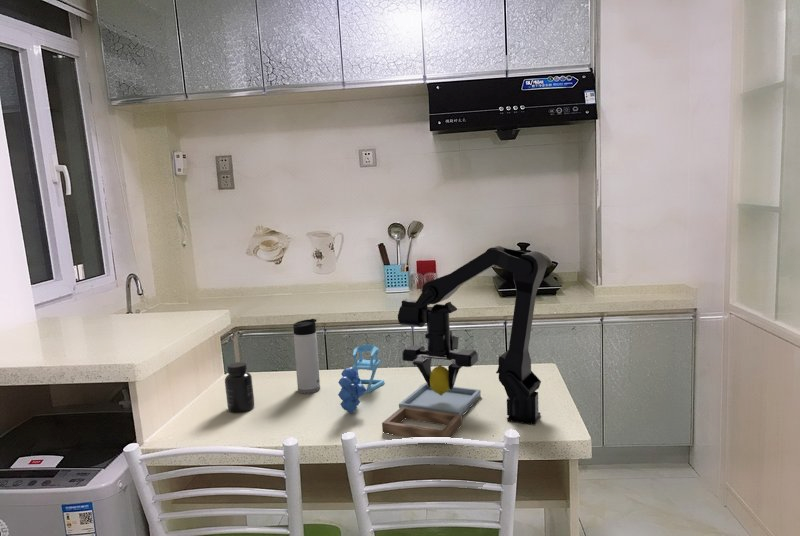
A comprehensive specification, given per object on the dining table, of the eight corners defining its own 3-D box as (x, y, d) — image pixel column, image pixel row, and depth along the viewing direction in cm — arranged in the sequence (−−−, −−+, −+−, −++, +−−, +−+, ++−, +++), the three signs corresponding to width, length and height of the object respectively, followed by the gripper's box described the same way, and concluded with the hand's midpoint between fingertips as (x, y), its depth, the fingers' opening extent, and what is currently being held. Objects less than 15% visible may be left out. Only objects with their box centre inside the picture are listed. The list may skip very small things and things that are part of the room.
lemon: (450, 399, 141) (449, 369, 139) (428, 399, 142) (427, 368, 141) (453, 391, 146) (451, 362, 145) (431, 391, 147) (430, 361, 146)
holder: (462, 425, 130) (461, 415, 130) (445, 444, 121) (444, 433, 121) (402, 416, 137) (402, 406, 137) (382, 433, 128) (382, 422, 128)
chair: (350, 392, 155) (347, 350, 154) (359, 381, 163) (356, 342, 162) (376, 393, 154) (374, 351, 152) (384, 382, 162) (382, 342, 160)
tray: (480, 396, 148) (480, 389, 147) (459, 419, 134) (459, 412, 133) (425, 389, 155) (424, 383, 155) (399, 410, 141) (399, 403, 140)
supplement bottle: (246, 401, 152) (242, 358, 150) (259, 407, 147) (255, 363, 145) (222, 409, 147) (218, 365, 145) (235, 415, 142) (231, 370, 141)
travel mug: (325, 389, 158) (320, 320, 155) (303, 395, 155) (298, 324, 152) (315, 383, 163) (310, 316, 161) (294, 389, 160) (289, 320, 157)
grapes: (361, 422, 134) (358, 374, 133) (334, 421, 136) (331, 373, 134) (373, 404, 146) (371, 359, 144) (348, 403, 147) (346, 359, 145)
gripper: (483, 323, 144) (485, 381, 146) (418, 319, 153) (420, 374, 155) (469, 334, 135) (471, 396, 137) (399, 329, 143) (402, 387, 145)
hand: (440, 387), depth 144 cm, fingers closed on lemon, 5 cm apart
